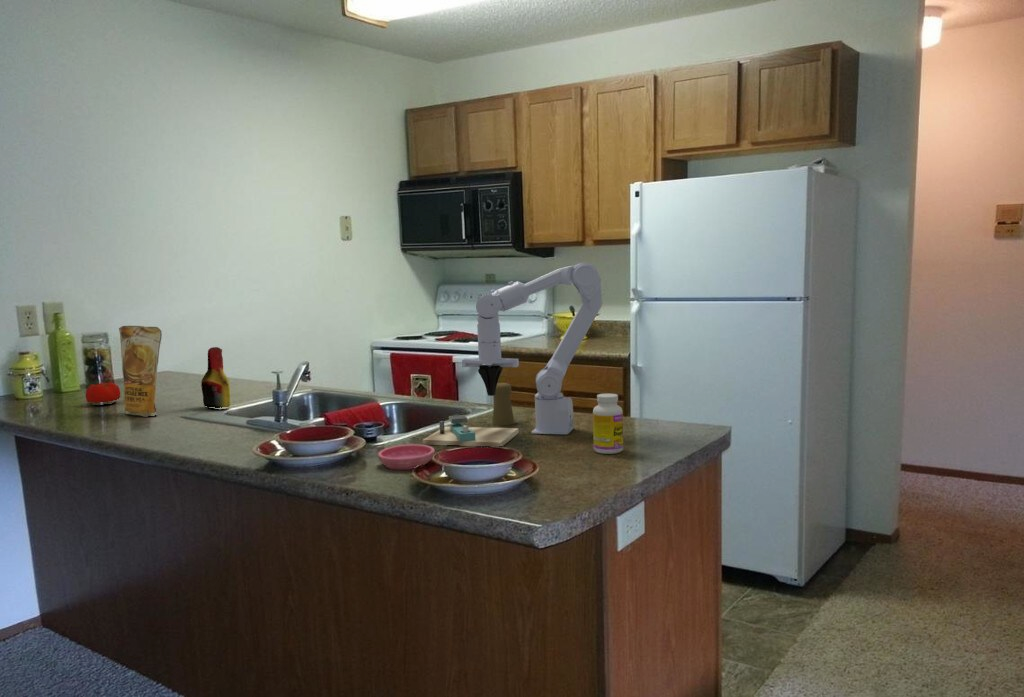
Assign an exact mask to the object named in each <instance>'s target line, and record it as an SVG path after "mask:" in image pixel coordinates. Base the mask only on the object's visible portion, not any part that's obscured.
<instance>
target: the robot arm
mask: <svg viewBox="0 0 1024 697" xmlns="http://www.w3.org/2000/svg"><path fill="white" fill-rule="evenodd" d="M507 284H508V285H506V286H503V287H500V288H498V289H494V288H493V289H491V290H490V294H489V293H486V294H483V295H481V296H480V297H479V298H478V300H477V301H476V304H475V308H476V310H475V311H476V312H477V313H478V315H477V317H476V319H477V346H478V347H477V348H478V350H477V352H478V357H477V358H463V359H461V366H462V368H468V367H470V368H471V367H473V368H474V367H475V368H478V370H477V371H478V374H479V376H480V377H481V379H482V381H483V384H484V386H485V390H486V394H487V396H489V397H490V396H491V397H494V396H495V392H496V386H497V383H499V382H498V381H499V379H500V377H501V373H502V371H503V369H504V368H518V367H519V366H520V362H519V358H508V357H507V358H506V357H502V346H501V344H502V342H501V340H502V339H501V323H500V321H499V320H500V318H499V317H500V316H499V312H507V311H509V310H511V309H513V308H516V307H519V306H521V305H523V304H526V303H527V302H528V299H529V296H531V295H533V294H536V293H539V292H542V291H544V290H547V289H549V288H551V287H555V286H556V285H565V286H566V285H567V286H571V285H573V286H574V287H575V289H576V290H577V291H578V292H577V293H578V295H579V298H580V301H581V304H580V306H579V308H578V309H577V311H576V313H575V315H574V317H573V318H572V320H571V322H570V324H569V326H568V327H567V330H566V331H565V333H564V335H563V337H562V339H561V340H560V342H559V344H558V345H557V347H556V349H555V351H554V352H553V355H552V356H551V358H550V359H549V361H548V362H547V364H546V365H545V367H543V369H541V370H539V371H538V373H537V374H536V376H535V384H536V385H535V386H536V390H537V393H536V394H534V408H535V409H534V412H535V415H534V416H535V428H534V429H532V431H531V432H530V433H531V434H532V435H533V434H534V435H535V434H539V435H540V434H541V435H542V434H543V435H569V434H570V433H571V432H572V430H574V428H575V426H574V404H573V399H572V398H571V397H565V396H564V394H563V392H561V390H562V387H563V386H562V385H563V380H564V379H565V378H564V377H565V375H566V373H567V370H568V368H569V365H570V363H571V362H572V360H573V359H574V356H575V355H576V353H577V351H578V350H579V348H580V346H581V344H582V342H583V340H584V339H585V336H586V335H587V333H588V331H589V329H590V328H591V326H592V324H593V323H594V321H595V319H596V317H597V315H598V313H599V311H600V310H601V308H602V305H603V295H602V279H601V276H600V274H599V272H598V270H597V268H596V267H595V266H594V265H593V264H591V263H590V262H579V263H576V264H575V265H569V266H565V267H561V268H558V269H555V270H552V271H550V272H548V273H546V274H543V275H542V276H539V277H537V278H534V279H533V280H531V281H528V282H526V283H523V282H520V281H519V280H517V281H513V280H511V281H509V282H507Z"/></svg>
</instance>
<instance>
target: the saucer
mask: <svg viewBox="0 0 1024 697" xmlns="http://www.w3.org/2000/svg"><path fill="white" fill-rule="evenodd" d="M435 455H436V450H435V448H434V447H433V446H432V445H423V444H420V443H419V444H417V443H416V444H399V445H393V446H389V447H387V448H383V449H381V450H380V451H379V452H378V453H377V459H378V460H379V461H380V463H381V464H383V465H384V466H385V467H386V468H388V469H389V470H390V469H391V470H399V471H403V470H404V471H405V470H414V469H413V468H414V467H416V466H417V465H420V464H423V463H425V462H428V461H429V462H430V461H431V460H432V459H433V457H434V456H435Z"/></svg>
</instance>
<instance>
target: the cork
mask: <svg viewBox="0 0 1024 697" xmlns="http://www.w3.org/2000/svg"><path fill="white" fill-rule="evenodd" d="M511 393H512V386H511V384H510V383H507V382H497V386H496V392H495V395H494V399H493V400H494V401H493V411H492V421H491V424H492V425H493V426H499V427H501V426H502V427H503V426H511V425H514V424H515V419H514V413H513V407H512V400H511V396H510V395H511Z"/></svg>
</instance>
